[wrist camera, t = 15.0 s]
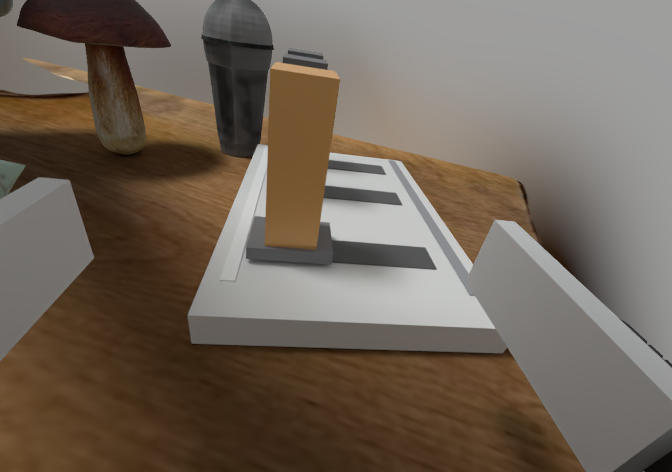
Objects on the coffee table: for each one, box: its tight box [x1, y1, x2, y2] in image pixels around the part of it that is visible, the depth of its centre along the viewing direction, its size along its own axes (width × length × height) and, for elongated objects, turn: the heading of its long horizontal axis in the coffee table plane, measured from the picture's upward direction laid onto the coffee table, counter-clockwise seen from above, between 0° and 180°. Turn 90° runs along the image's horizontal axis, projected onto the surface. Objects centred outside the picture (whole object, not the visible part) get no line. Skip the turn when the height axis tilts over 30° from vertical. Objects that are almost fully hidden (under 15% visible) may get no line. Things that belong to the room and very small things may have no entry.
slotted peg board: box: [187, 48, 507, 353], centre depth 25 cm, size 17×26×12 cm, turn 4°
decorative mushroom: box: [17, 0, 171, 155], centre depth 30 cm, size 11×11×15 cm
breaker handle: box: [246, 62, 340, 265], centre depth 18 cm, size 5×4×10 cm
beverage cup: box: [202, 0, 274, 157], centre depth 35 cm, size 7×7×20 cm
